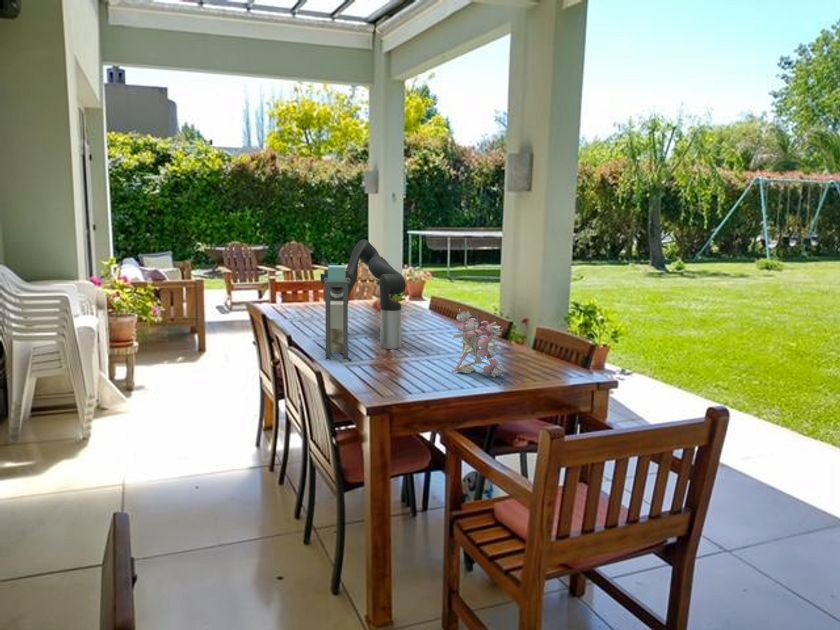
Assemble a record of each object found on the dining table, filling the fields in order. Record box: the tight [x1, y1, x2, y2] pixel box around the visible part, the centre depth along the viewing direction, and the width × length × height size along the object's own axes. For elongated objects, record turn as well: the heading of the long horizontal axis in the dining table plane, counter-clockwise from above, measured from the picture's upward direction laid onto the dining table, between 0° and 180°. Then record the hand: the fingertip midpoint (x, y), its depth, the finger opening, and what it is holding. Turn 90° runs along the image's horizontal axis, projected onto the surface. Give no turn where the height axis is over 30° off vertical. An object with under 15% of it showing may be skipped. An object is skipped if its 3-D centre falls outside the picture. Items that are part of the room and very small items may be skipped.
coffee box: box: [462, 313, 481, 354], centre depth 288 cm, size 9×6×16 cm
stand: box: [324, 279, 349, 360], centre depth 272 cm, size 9×12×32 cm
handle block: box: [327, 264, 346, 282], centre depth 274 cm, size 7×21×6 cm, turn 7°
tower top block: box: [330, 301, 343, 329], centre depth 285 cm, size 8×12×10 cm, turn 7°
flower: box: [450, 308, 504, 378], centre depth 246 cm, size 20×22×25 cm
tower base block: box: [331, 329, 343, 353], centre depth 287 cm, size 8×12×10 cm, turn 7°
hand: (336, 271), depth 280 cm, fingers open, 8 cm apart
